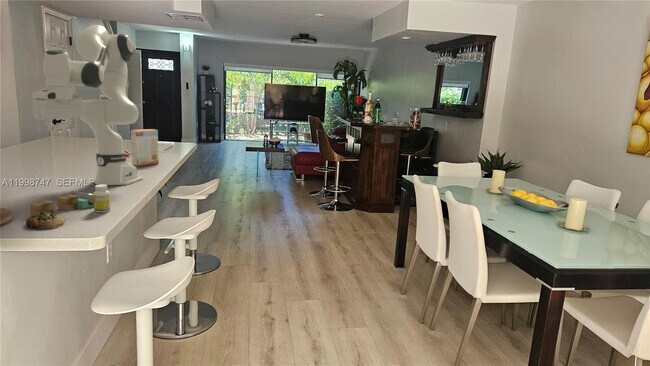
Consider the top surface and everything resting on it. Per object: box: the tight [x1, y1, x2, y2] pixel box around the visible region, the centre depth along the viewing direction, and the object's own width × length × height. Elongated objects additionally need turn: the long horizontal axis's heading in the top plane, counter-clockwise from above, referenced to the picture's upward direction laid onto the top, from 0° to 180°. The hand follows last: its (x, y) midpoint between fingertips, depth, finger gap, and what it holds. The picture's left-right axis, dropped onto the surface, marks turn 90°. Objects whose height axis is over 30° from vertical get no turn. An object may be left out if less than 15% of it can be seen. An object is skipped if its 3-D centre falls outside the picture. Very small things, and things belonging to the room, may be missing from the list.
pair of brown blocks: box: [29, 194, 78, 216], centre depth 154 cm, size 16×4×4 cm, turn 162°
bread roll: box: [25, 212, 65, 230], centre depth 140 cm, size 11×11×5 cm
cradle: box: [76, 192, 94, 210], centre depth 165 cm, size 10×10×3 cm
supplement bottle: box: [92, 184, 111, 213], centre depth 158 cm, size 5×5×10 cm
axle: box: [68, 190, 94, 205], centre depth 165 cm, size 4×12×4 cm, turn 72°
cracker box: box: [130, 128, 160, 167], centre depth 250 cm, size 14×6×21 cm, turn 144°
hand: (61, 129), depth 165 cm, fingers open, 8 cm apart
